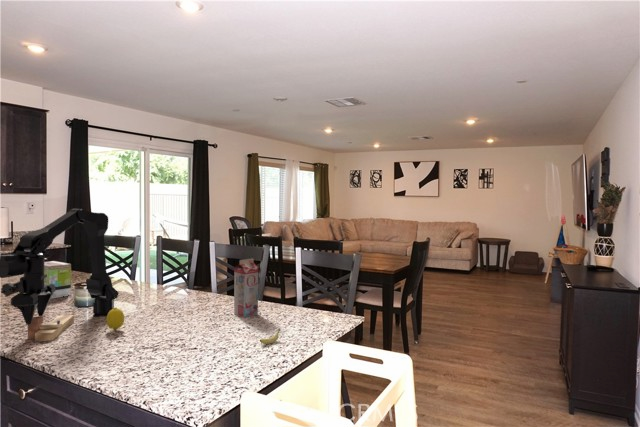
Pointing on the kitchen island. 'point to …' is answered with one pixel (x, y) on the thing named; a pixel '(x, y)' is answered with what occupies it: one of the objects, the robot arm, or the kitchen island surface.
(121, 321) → the lemon
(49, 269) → the tea box
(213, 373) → the kitchen island surface
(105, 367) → the kitchen island surface
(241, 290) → the juice carton
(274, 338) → the banana
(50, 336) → the plank
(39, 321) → the chocolate colored brick
